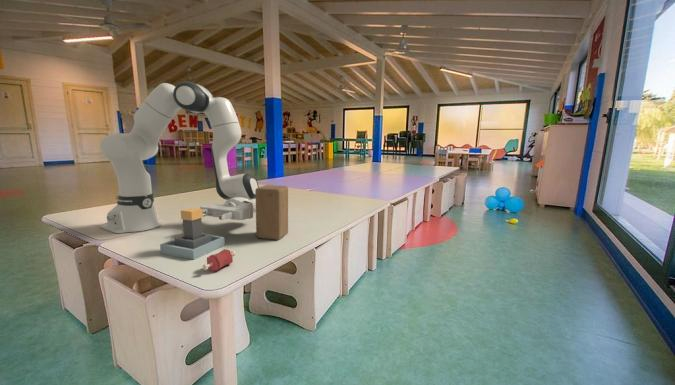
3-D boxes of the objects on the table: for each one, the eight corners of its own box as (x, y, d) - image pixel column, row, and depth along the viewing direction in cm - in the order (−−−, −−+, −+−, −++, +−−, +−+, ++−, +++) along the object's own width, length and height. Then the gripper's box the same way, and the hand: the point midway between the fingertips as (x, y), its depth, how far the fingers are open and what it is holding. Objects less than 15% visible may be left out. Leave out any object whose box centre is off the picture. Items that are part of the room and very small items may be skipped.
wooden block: (279, 241, 108) (279, 189, 104) (255, 238, 109) (254, 188, 106) (289, 233, 117) (288, 185, 114) (266, 231, 119) (266, 184, 116)
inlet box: (160, 253, 93) (159, 240, 92) (194, 239, 106) (193, 228, 105) (193, 259, 89) (192, 246, 88) (224, 245, 102) (224, 233, 101)
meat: (212, 275, 77) (207, 258, 77) (199, 276, 79) (195, 260, 79) (242, 259, 88) (238, 244, 88) (230, 261, 90) (226, 246, 90)
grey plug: (183, 250, 96) (180, 210, 93) (194, 245, 100) (191, 207, 98) (193, 252, 94) (191, 211, 92) (204, 247, 99) (202, 208, 96)
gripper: (214, 198, 119) (187, 205, 106) (255, 203, 112) (232, 210, 99) (215, 213, 120) (188, 221, 107) (256, 218, 113) (232, 227, 100)
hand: (210, 216), depth 103 cm, fingers open, 8 cm apart
